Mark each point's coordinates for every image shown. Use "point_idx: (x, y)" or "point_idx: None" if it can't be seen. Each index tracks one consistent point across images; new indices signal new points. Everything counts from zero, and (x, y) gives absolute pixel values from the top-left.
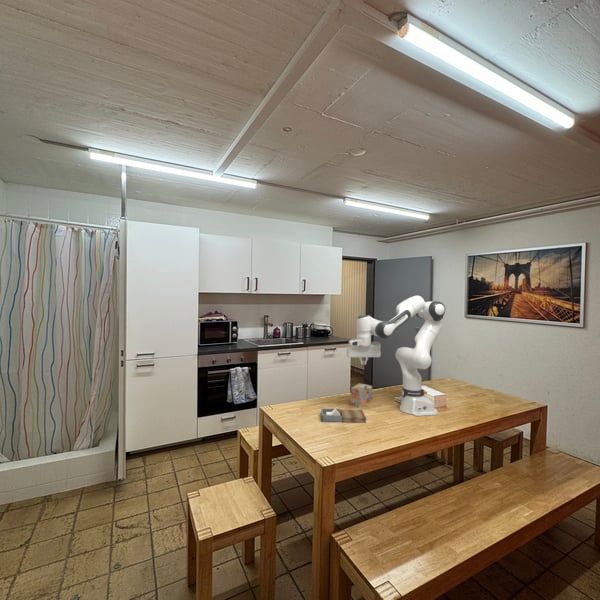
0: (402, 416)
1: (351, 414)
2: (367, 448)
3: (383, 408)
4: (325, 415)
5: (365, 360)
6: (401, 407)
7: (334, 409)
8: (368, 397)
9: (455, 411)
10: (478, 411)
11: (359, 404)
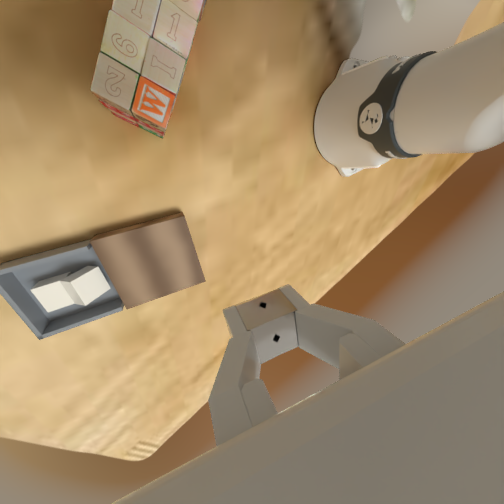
0: (308, 188)
1: (152, 274)
2: (214, 381)
3: (261, 122)
4: (34, 277)
5: (313, 339)
6: (323, 134)
7: (70, 286)
8: (201, 12)
9: None
10: None
11: (163, 136)
